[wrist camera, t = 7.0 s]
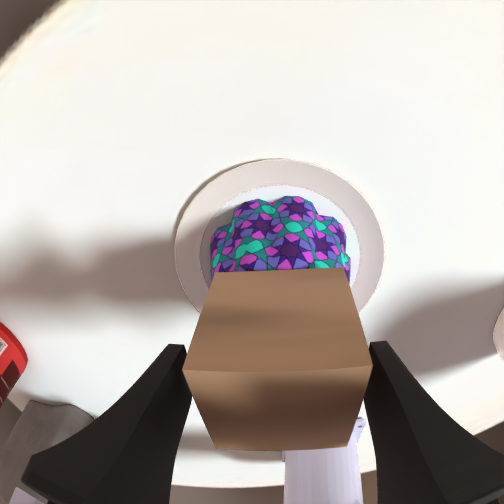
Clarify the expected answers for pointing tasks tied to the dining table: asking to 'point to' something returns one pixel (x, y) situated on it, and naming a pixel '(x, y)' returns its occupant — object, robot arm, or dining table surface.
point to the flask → (36, 441)
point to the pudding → (279, 229)
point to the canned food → (10, 361)
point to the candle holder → (499, 335)
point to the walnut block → (279, 360)
